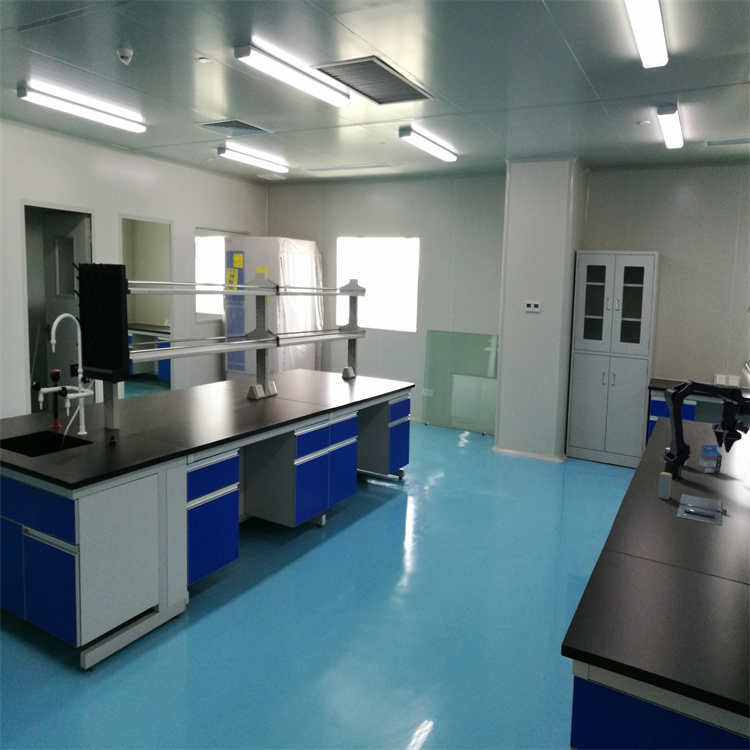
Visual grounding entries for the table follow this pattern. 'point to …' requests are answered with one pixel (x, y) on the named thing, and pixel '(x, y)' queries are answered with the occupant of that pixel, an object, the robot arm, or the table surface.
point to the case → (700, 509)
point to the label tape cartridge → (710, 459)
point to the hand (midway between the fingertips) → (723, 449)
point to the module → (664, 485)
